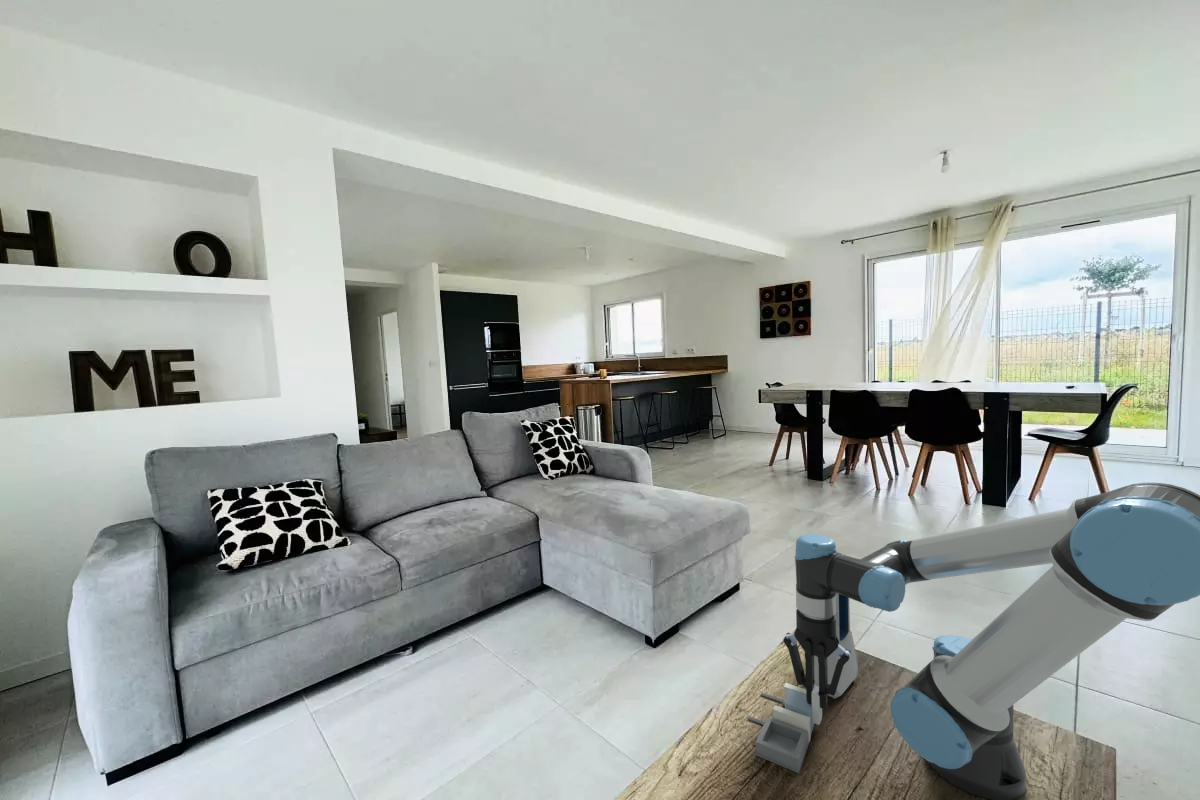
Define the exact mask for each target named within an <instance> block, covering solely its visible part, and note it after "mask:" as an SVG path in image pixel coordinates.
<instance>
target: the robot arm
mask: <svg viewBox="0 0 1200 800" xmlns="http://www.w3.org/2000/svg"><path fill="white" fill-rule="evenodd" d="M836 547H837V546H836V542H835V540H834V539H833V538H830V537H829V536H827V535H823V534H819V533H806V534H803V535H800V536H799V537H797V538H796V541H795V553H794V554H795V555H794V559H795V560H794V562H795V563H794V564H795V581H796V583H795V607H796V610H795V611H796V613H795V615H796V616H795V617H796V618H795V619H796V624H795V625H796V626H795V627H796V628H795V630H794V632H792V633H791V632H787V633H786V634H785V635H784V637H783V640H782V641H783V642H784V645H785V646H786V648H787V650H788V652H789V653H788V654H789V658H790V660H791V665H792V669H793V673H794V676H795V681H796V683H797V684H798V685H799V686H803V687H804V689H806V700H807V703H808V704H811V705H812V722H813V723H815V724H816V725H818V726H820V724H821V722H822V719H823V710H826V708H827V706H828V696H827V694H830V695H832V696H834V695H835V692H836V689H837V686H838V683H839V680H840V676H841V673H842V669H843V666H844V664H845V663H846V662H847V661H848V660H849V658H850V655H851V651H850V650H849V649H844V648H843V647H842V646H841V645H840V644H839V640H838V638H837V636H836V615H835V613H836V593H838V594H841V595H843V596H846V597H848V598H849V599H851V600H853V601H856V602H858V603H862V604H864V605H866V606H867V607H870V608H874V609H879V610H882V611H885V612H889V613H891V612H895V611H897V610H898V609H899V608H900V607H901V604H902V603H903V601H904V599H905V594H906V585H908V584H911V583H918V582H919V583H920V582H925V581H931V580H937V579H938V580H939V579H943V578H944V579H945V578H946V579H947V578H954V577H959V576H966V575H967V576H969V575H975V574H981V573H982V574H983V573H988V572H989V573H991V572H998V571H1004V570H1013V569H1018V568H1027V567H1028V568H1029V567H1033V566H1034V567H1035V566H1042V565H1043V566H1044V565H1050V564H1052V566H1051V567H1050V568H1049V569H1048V570H1047V571H1046V572H1044V573H1043V574H1042V575H1041V576H1040V577H1039V578H1038V579H1037V580H1036V581H1035V582H1034V583H1032V584H1031V585H1030V586H1029V587H1028V588H1027V589H1026V590H1025V591H1024V592H1023V593H1022V594H1020V595H1019V596H1018V597H1017V598H1016V599H1015V600H1014V601H1012V603H1011V604H1009V606H1007V607H1006V608H1005V609H1004V610H1003V611H1001V612H1000V614H998V615H997V617H996V618H995V617H994V619H993V620H992V621H991V622H990V623H989V624H988V625H986V626H985V627H984V628H983V629H982V630H981V631H980V632H979V633H978V634H977V635H976V636H975V637H973V638H969V637H966V636H965V637H964V636H959V635H952V634H951V635H950V634H949V635H948V634H947V635H940V636H938V637H936V638H935V639H934V641H933V646H932V651H933V659H932V660H931V661H930V662H928V663H927V664H926V665H925V666H924V667H923V668H922V669H921V670H920V671H919V672H918V673H917V674H916V675H914V677H913V678H911V679H910V680H909V681H908V682H907V683H906V684H904V686H903V687H900V688H898V689H897V690H896V691H895V693H894V696H893V697H892V698H891V701H890V707H889V708H890V715H891V717H892V718H893V724H894V725H895V728H896V730H897V732H898V733H899V734H900V736H901V737H902V739H903V740H904V741H905V743H906V744H907V745H908V746H909V747H910V748H911V749H912V750H913V751H914V752H916V753H917V754H918V755H919V756H920V757H922V758H923V759H925V760H926V761H927V762H928V763H929V766H931V767H932V768H933V770H934V771H935V772H936V773H937V774H939V776H941V777H942V778H943V779H944V780H945V781H947V782H949V783H950V784H952V785H953V786H955V787H957V788H959V789H961V790H963V791H965V792H967V793H970V794H972V795H974V796H976V797H980V798H982V799H983V798H984V799H987V800H1017V799H1019V798H1020V797H1022V796H1023V795H1024V794H1025V792H1026V790H1027V772H1026V769H1025V768H1026V767H1025V766H1024V762H1023V760H1022V757H1021V756H1020V752H1019V750H1018V747H1017V745H1016V742H1015V740H1014V705H1015V704H1016V703H1017V702H1019V701H1020V700H1021V699H1022V698H1024V697H1025V696H1026V695H1028V694H1029V693H1030V692H1032V691H1034V689H1036V688H1038V686H1039V685H1041V684H1043V683H1044V681H1046V680H1047V679H1048V678H1050V677H1051V676H1053V675H1054V674H1056V673H1057V672H1058V671H1060V669H1062V668H1063V667H1065V666H1066V665H1068V664H1069V663H1070V662H1071V661H1072V660H1074V659H1075V658H1076V657H1078V656H1079V655H1081V654H1082V653H1083V652H1084V651H1086V650H1087V649H1088V648H1089V647H1091V646H1092V645H1093V644H1096V642H1098V641H1099V640H1100V639H1101V638H1103V637H1104V636H1106V635H1107V634H1108V633H1109V632H1111V631H1112V630H1113V629H1115V628H1116V627H1117V626H1119V625H1120V624H1121V623H1122V622H1124V621H1125V620H1126V619H1129V620H1131V619H1132V620H1138V621H1143V622H1152V621H1153V620H1155V619H1157V617H1159V616H1160V615H1162V614H1163V613H1165V612H1166V611H1167V610H1169V609H1170V608H1171V607H1173V606H1174V605H1177V604H1181V603H1185V602H1187V601H1190V600H1192V599H1193V598H1194V599H1195V598H1197V597H1199V596H1200V494H1198V493H1196V492H1194V491H1192V490H1190V489H1187V488H1185V487H1183V486H1182V487H1181V486H1178V485H1173V484H1171V483H1170V484H1169V483H1163V482H1137V483H1132V484H1128V485H1126V486H1122V487H1119V488H1116V489H1111V490H1109V491H1106V492H1102V493H1099V494H1096V495H1092V496H1086V497H1083V498H1078V499H1073V500H1072V502H1071V504H1070V506H1069V507H1068V508H1065V509H1061V510H1054V511H1049V512H1044V513H1041V514H1040V513H1039V514H1035V515H1030V516H1026V517H1025V516H1024V517H1021V518H1015V519H1010V520H1006V521H1001V522H1000V521H999V522H996V523H991V524H985V525H981V526H977V527H975V526H974V527H970V528H966V529H961V530H957V531H951V532H947V533H946V532H945V533H941V534H937V535H932V536H927V537H922V538H918V539H913V540H908V539H900V540H895V541H892V542H889V543H887V544H886V545H885V546H883V547H881V548H879V549H877V550H876V551H874V552H872V553H870V554H868V555H866V556H864V557H862V558H856V557H852V556H850V555H846V554H843V553H840V552H838V551H837V548H836ZM798 644H799V645H800V648H802V650H803V651H804V659H805V663H804V665H805V671H804V666H803V662H802V658H801V655H800V650H799V647H798ZM835 650H836V651H837V654H836V655H837V657H838V661H837V664H836V667H835V671H834V674H833V678H832V681H831V684H828V666H827V658H828V657H829V656H830V655H831V654H832V653H833V652H834V651H835ZM814 656H817V657H818V663H819V687H818V686H815V685H814V683H815V681H814Z"/></svg>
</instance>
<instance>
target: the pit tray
mask: <svg viewBox="0 0 1200 800" xmlns="http://www.w3.org/2000/svg"><path fill="white" fill-rule="evenodd" d="M764 722H765V723H764V725H762V726H761V727H762V728H761V730H760V731H759V733H758V736H757V738H756V740H755V756H757V757H759V758H761V759H764V760H767V761H769V762H772V763H774V764H776V765H778V766H781V767H784V768H785V769H788V770H790V771H793V772H795V773H797V774H799V773H800V771H801V768H802V765H803V762H804V759H805V756H806V754H807V750H808V747H809V744H810V742H809V743H808V731H805V730H802V729H800V728H797V727H794V726H791V725H789V724H786V723H783V722H781V721H778V720H775V719H773V717H769V716H767V718H766V720H765V721H764Z"/></svg>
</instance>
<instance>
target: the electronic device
mask: <svg viewBox="0 0 1200 800" xmlns="http://www.w3.org/2000/svg"><path fill="white" fill-rule="evenodd" d="M850 610H851V609H850V598H848V597H846V596H843V595H841V594H838V593H836V613H835V615H836V636H837V638H838V640H839V644H840V645H841V646H842V647H843V648H844V649H849V650H850V651H851V655H850V658H849V660H848V661H847V662H846V663H845V664H844V666H843V669H842V673H841V676H840V680H839V683H838V686H837V689H836V692H835V695H834V696H832V695H830V694H827V697H828V698H829V697H830V698H832V699H837V698H839V697H841V696H842V695H843V694H844V692H846V690H847V689H848V688H849V686H851V684H852V682H854V680H855V679H856V678H857V675H858V670H859V664H858V659H857V653H856V648H855V642H854V636H853V632H852V631H851V621H850V620H851V619H850V617H851V616H850V615H851V614H850ZM836 654H837V651H836V650H835V651H834V652H833V653H832V654H831V655H830V656H829V657H828V658H827V666H828V684H831V681H832V678H833V674H834V671H835V667H836V664H837V661H838V657H837V655H836ZM814 681H815V683H814V685H815V686H818V687H819V663H818V657H817V656H814Z"/></svg>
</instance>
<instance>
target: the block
mask: <svg viewBox="0 0 1200 800" xmlns="http://www.w3.org/2000/svg"><path fill="white" fill-rule="evenodd" d="M784 708H785V709H788V710H790V711H793V712H796V713H799V714H802V715H805V716H808V717H810V727H811V734H812V733H813V730H814V727H815V723H813V722H812V705H811V704H808V703H807V700H806V694H803V693H800V692H797V691H794V690H791V691H790V693H789V695H788V698H787V700H786V702H785V705H784Z"/></svg>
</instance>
